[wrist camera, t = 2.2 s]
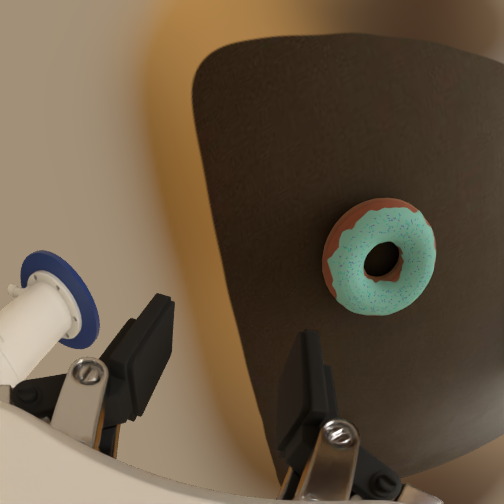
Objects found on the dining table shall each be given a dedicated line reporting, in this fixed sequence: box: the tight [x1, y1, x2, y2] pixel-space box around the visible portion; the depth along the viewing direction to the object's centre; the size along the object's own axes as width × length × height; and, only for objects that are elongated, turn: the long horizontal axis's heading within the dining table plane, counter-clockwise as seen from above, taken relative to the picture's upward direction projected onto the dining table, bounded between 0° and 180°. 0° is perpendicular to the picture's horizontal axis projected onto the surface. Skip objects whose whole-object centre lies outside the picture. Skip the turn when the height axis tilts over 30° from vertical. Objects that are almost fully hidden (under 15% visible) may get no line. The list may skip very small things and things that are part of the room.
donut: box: [322, 198, 436, 316], centre depth 25 cm, size 12×12×4 cm
